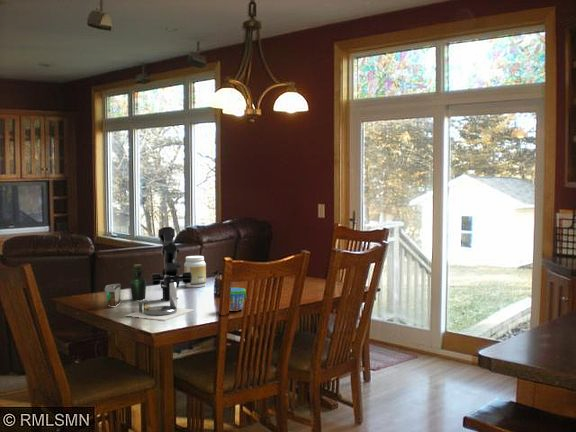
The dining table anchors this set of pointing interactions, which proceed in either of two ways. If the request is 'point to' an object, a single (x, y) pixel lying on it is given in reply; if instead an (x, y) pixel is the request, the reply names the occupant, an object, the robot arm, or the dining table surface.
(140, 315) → the level stand
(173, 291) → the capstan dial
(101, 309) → the dining table surface
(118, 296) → the food container
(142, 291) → the potion bottle
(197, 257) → the supplement tub
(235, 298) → the snack cup
